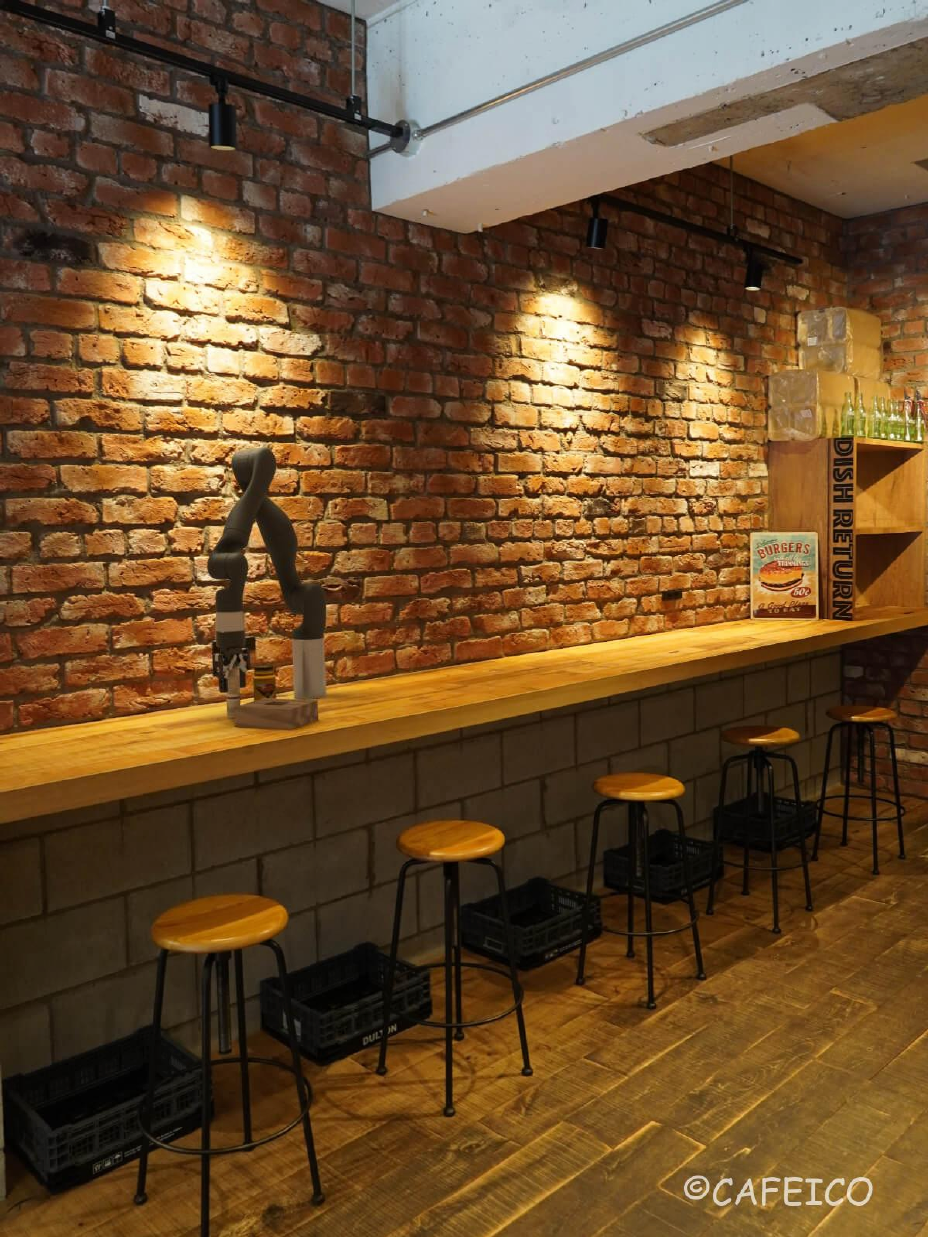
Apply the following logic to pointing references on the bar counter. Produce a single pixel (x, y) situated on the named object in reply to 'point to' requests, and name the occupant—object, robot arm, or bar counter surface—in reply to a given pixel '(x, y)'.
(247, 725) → the wooden block with hole
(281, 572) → the robot arm
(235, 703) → the peg
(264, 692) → the condiment
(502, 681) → the bar counter surface
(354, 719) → the bar counter surface
